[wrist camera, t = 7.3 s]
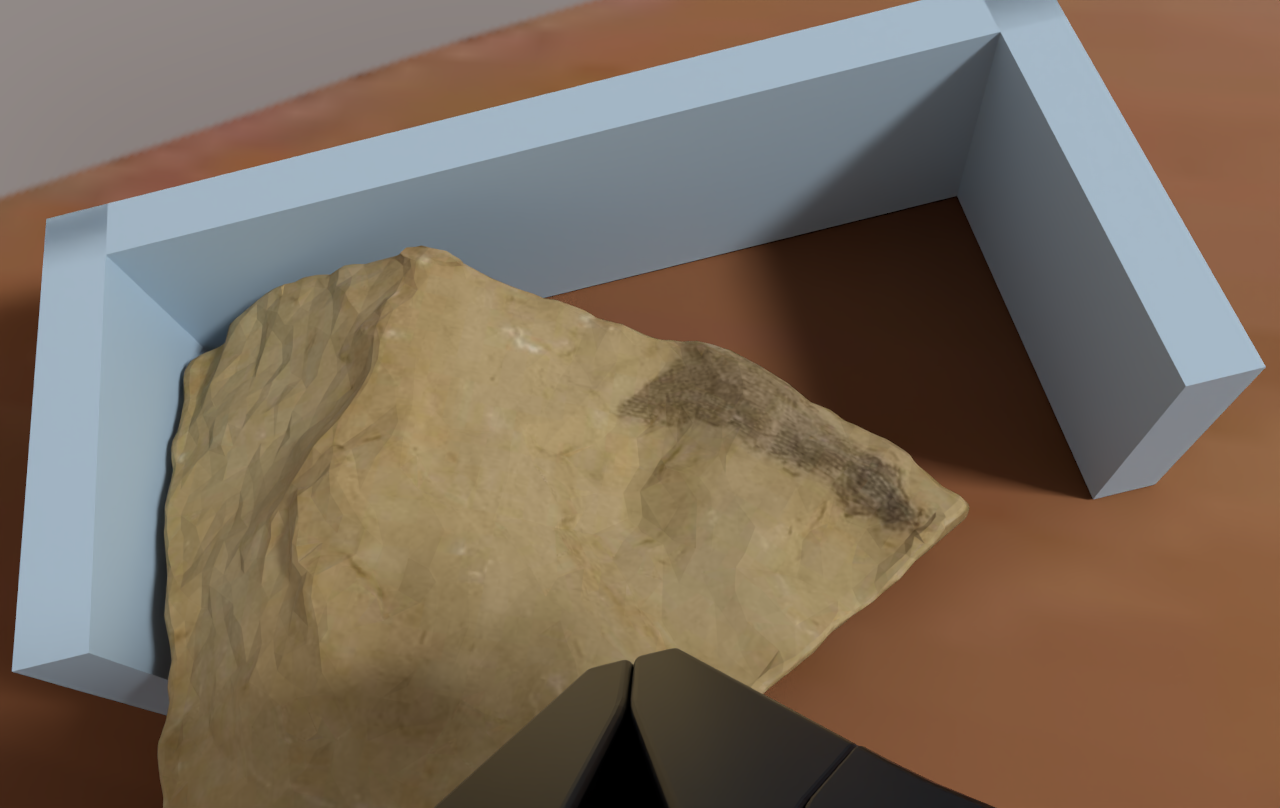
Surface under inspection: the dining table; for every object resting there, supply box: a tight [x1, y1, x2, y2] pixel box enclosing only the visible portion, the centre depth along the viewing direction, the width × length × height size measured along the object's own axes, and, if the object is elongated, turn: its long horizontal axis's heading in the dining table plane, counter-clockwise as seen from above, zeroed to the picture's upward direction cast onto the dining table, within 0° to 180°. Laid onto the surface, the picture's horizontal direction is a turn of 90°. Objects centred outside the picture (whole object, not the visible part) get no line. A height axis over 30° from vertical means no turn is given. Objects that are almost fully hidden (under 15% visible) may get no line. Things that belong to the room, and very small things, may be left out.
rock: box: [157, 245, 969, 808], centre depth 13 cm, size 11×9×10 cm
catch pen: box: [12, 0, 1266, 716], centre depth 16 cm, size 7×16×4 cm, turn 102°
